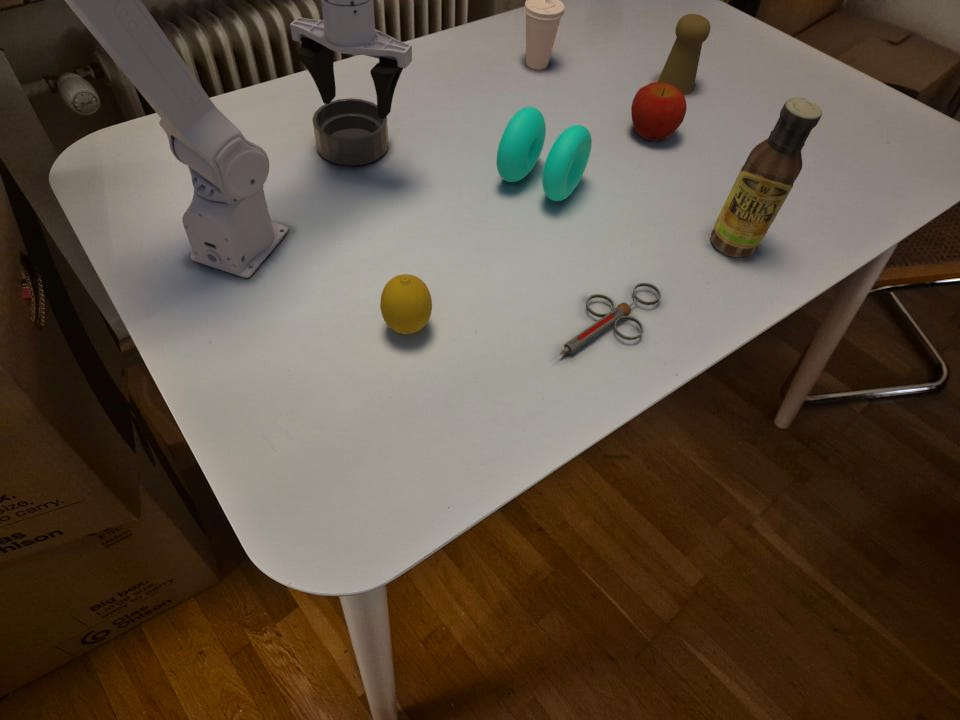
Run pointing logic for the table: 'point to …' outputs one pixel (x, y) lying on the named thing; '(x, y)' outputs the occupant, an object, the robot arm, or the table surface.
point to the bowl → (350, 132)
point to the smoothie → (541, 30)
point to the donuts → (525, 148)
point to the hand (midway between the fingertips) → (356, 107)
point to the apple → (658, 110)
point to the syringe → (608, 320)
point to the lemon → (406, 304)
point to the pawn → (685, 53)
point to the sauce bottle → (765, 181)
